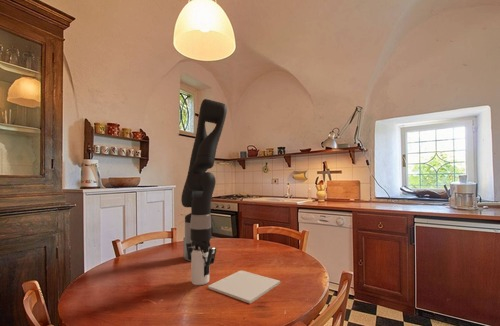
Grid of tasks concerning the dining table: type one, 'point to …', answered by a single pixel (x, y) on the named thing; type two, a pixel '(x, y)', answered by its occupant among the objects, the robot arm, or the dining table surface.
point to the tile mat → (244, 286)
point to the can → (198, 268)
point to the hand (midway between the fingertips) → (200, 273)
